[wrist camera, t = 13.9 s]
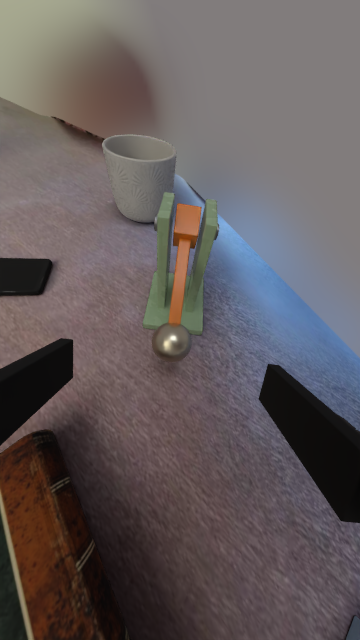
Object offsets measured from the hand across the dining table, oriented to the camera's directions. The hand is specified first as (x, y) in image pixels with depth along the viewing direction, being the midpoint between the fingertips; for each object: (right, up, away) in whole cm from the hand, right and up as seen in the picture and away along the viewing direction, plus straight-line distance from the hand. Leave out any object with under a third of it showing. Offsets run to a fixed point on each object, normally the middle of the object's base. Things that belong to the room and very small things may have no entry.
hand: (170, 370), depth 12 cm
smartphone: (-27, +9, +14) cm, 32 cm away
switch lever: (+1, +7, +6) cm, 9 cm away
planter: (-7, +27, +28) cm, 39 cm away
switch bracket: (0, +6, +15) cm, 16 cm away
